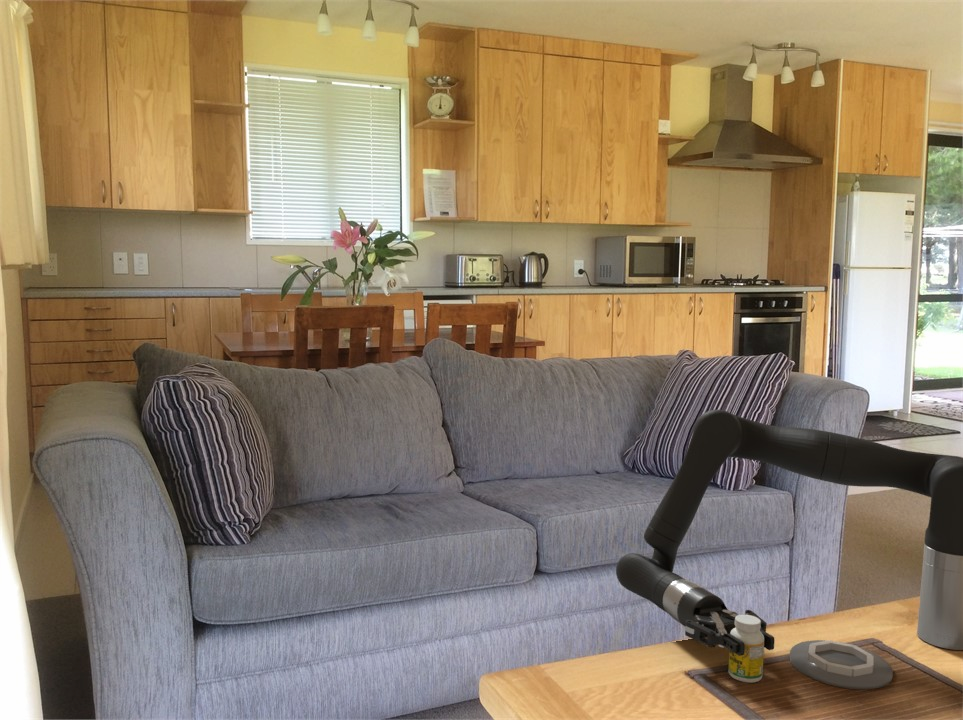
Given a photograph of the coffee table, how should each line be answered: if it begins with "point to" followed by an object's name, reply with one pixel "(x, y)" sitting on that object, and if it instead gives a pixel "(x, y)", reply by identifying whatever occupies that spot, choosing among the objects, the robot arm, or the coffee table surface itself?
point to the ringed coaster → (841, 664)
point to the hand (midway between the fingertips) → (757, 646)
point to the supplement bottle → (747, 650)
